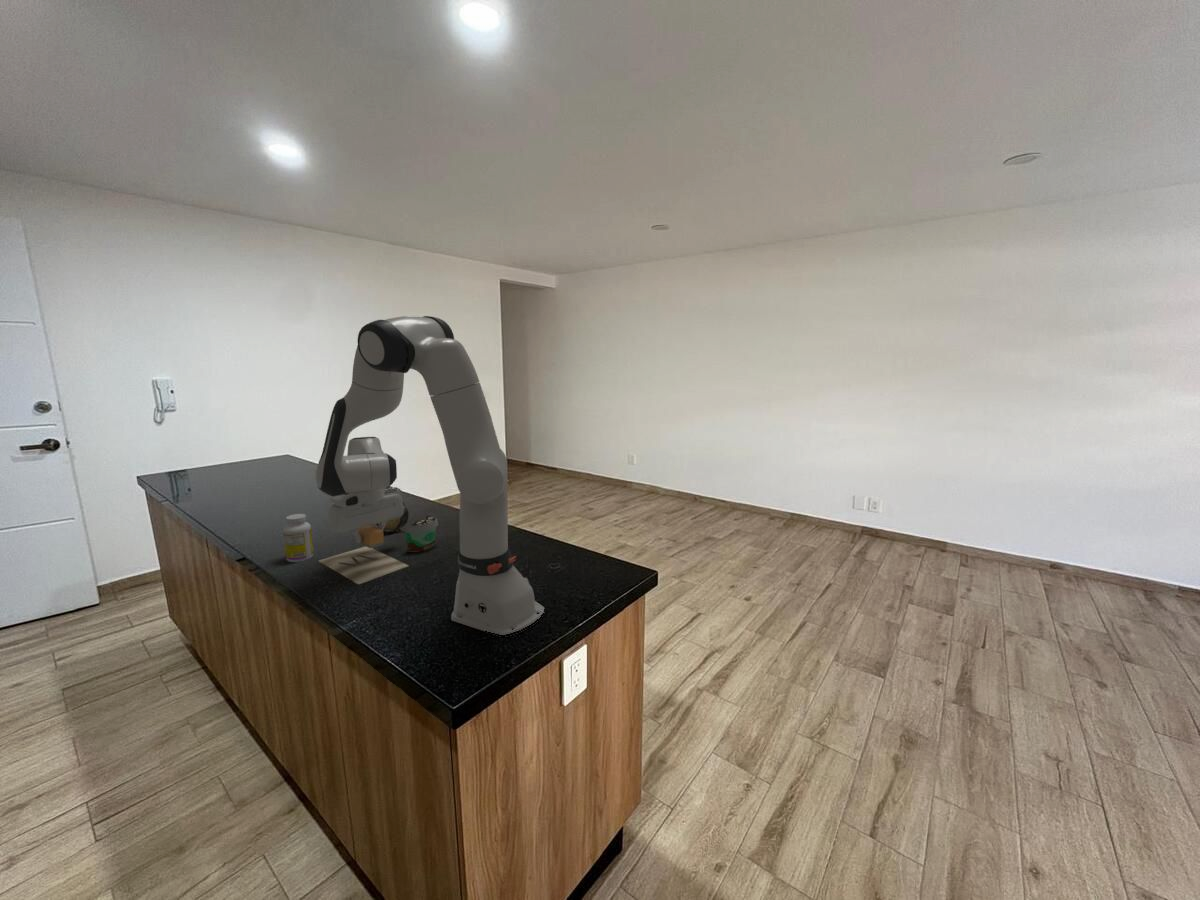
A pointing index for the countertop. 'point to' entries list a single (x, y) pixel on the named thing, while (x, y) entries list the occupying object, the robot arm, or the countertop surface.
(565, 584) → the countertop surface
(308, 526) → the supplement bottle
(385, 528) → the alarm clock
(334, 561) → the birch board
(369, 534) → the block
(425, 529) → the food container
